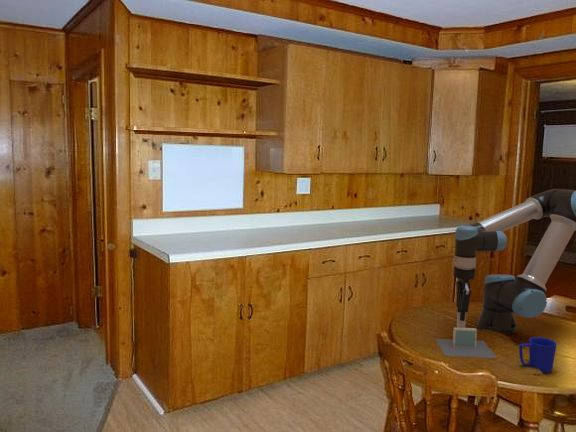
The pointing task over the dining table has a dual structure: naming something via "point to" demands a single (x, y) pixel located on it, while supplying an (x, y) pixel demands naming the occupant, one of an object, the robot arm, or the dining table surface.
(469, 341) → the tile
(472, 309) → the dining table surface
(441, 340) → the board
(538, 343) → the mug
